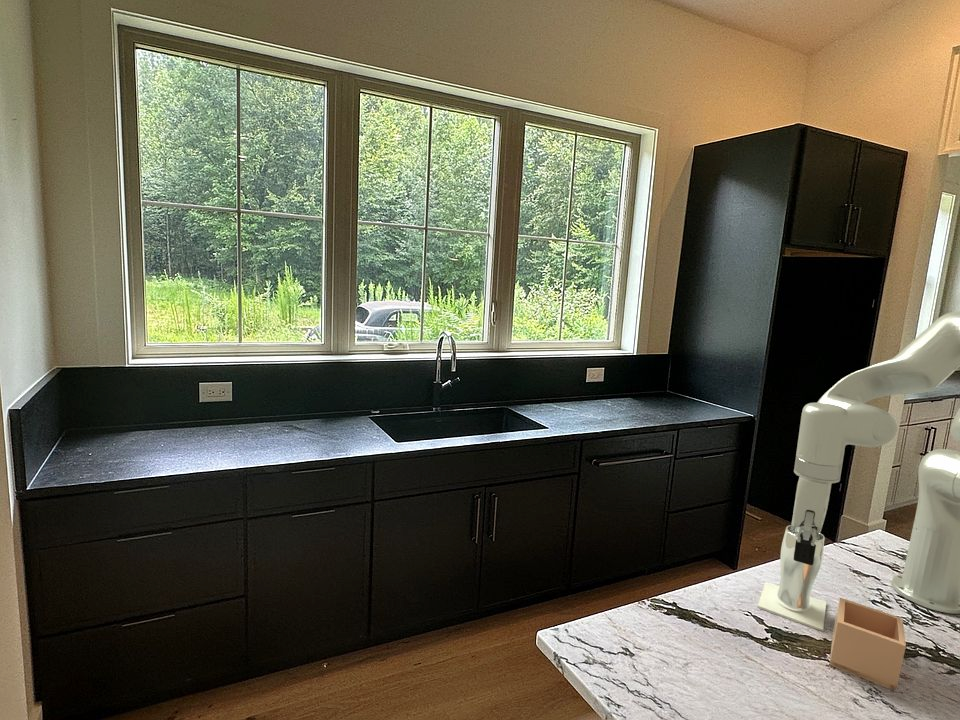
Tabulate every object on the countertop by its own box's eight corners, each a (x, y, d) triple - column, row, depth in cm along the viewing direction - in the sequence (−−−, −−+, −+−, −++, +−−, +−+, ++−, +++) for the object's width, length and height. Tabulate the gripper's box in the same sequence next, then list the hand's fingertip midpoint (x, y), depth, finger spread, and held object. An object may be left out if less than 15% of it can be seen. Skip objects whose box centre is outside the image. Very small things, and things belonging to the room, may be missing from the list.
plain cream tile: (765, 583, 116) (765, 581, 116) (826, 603, 110) (826, 602, 110) (757, 607, 107) (757, 605, 107) (822, 631, 101) (823, 629, 101)
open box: (832, 637, 99) (839, 597, 98) (893, 660, 94) (902, 618, 93) (829, 665, 92) (837, 622, 91) (896, 691, 87) (905, 645, 86)
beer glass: (818, 616, 105) (832, 543, 102) (779, 610, 106) (792, 538, 103) (804, 596, 111) (817, 527, 109) (767, 590, 112) (779, 522, 110)
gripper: (799, 452, 113) (788, 529, 116) (789, 477, 99) (778, 564, 102) (842, 460, 109) (830, 540, 112) (839, 487, 95) (825, 578, 98)
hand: (805, 551), depth 107 cm, fingers open, 9 cm apart
